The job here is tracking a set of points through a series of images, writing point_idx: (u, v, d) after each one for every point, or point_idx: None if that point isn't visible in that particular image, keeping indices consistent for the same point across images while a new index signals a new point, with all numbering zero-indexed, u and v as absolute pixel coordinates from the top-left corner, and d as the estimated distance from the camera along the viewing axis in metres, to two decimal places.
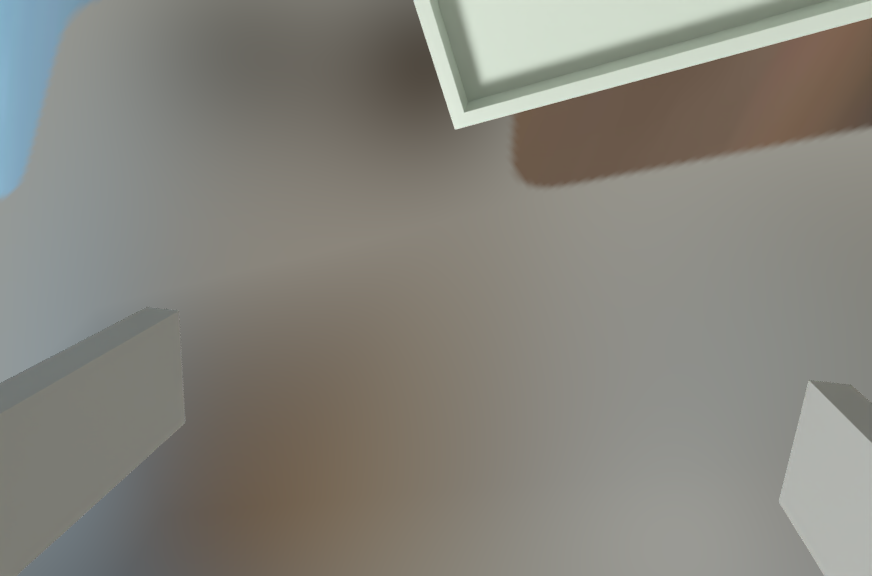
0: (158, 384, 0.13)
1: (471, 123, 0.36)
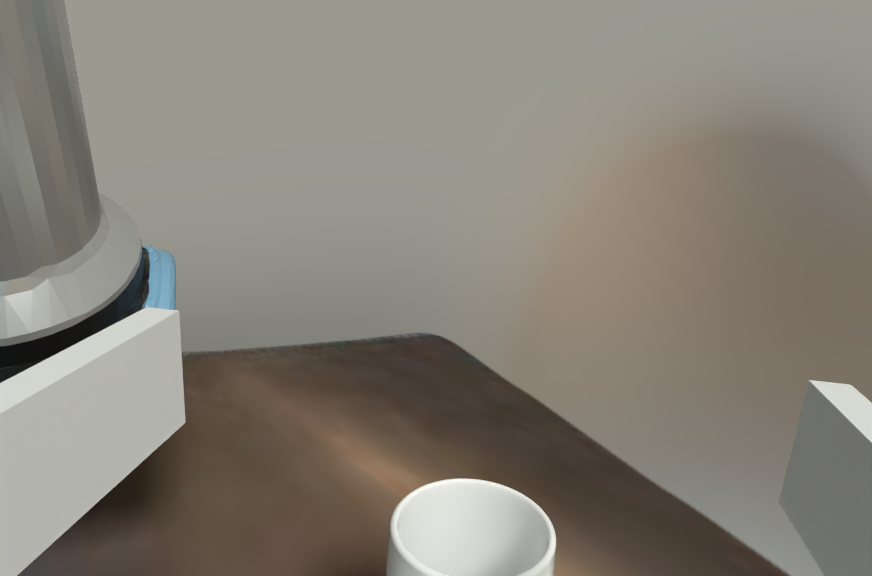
0: (158, 384, 0.13)
1: None
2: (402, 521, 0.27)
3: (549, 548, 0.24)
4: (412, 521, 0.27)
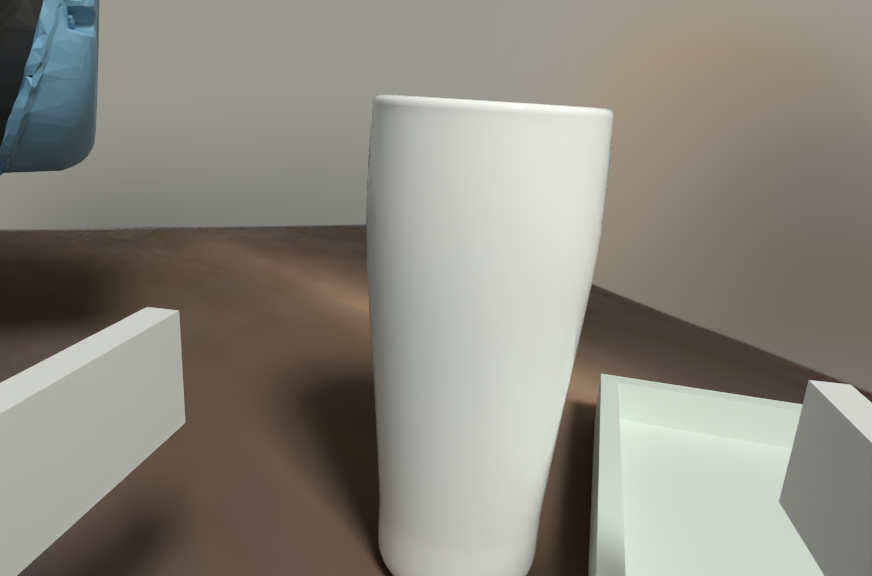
0: (158, 384, 0.13)
1: None
2: None
3: None
4: None
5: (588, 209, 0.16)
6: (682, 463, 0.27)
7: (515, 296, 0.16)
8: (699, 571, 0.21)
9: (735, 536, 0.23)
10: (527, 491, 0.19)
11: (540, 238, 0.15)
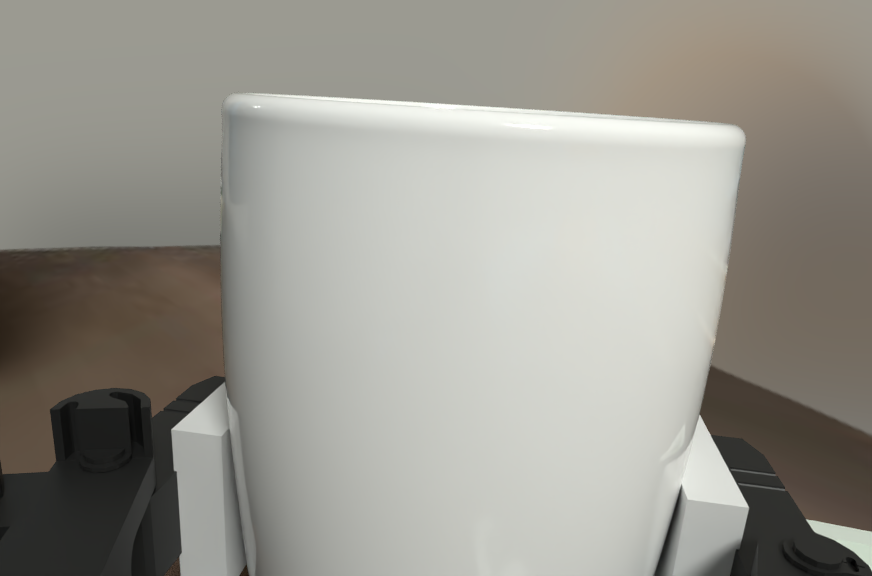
0: None
1: None
2: None
3: None
4: None
5: (696, 355, 0.07)
6: None
7: (529, 566, 0.07)
8: None
9: None
10: None
11: (589, 441, 0.06)
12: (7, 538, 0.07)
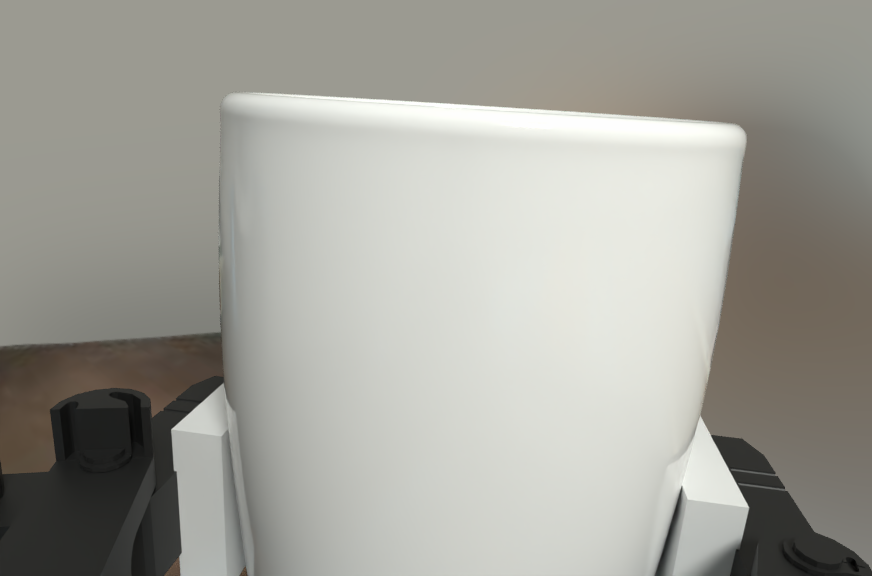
0: None
1: None
2: None
3: (730, 123, 0.07)
4: None
5: (696, 356, 0.07)
6: None
7: (529, 568, 0.07)
8: None
9: None
10: None
11: (590, 442, 0.06)
12: (7, 538, 0.07)
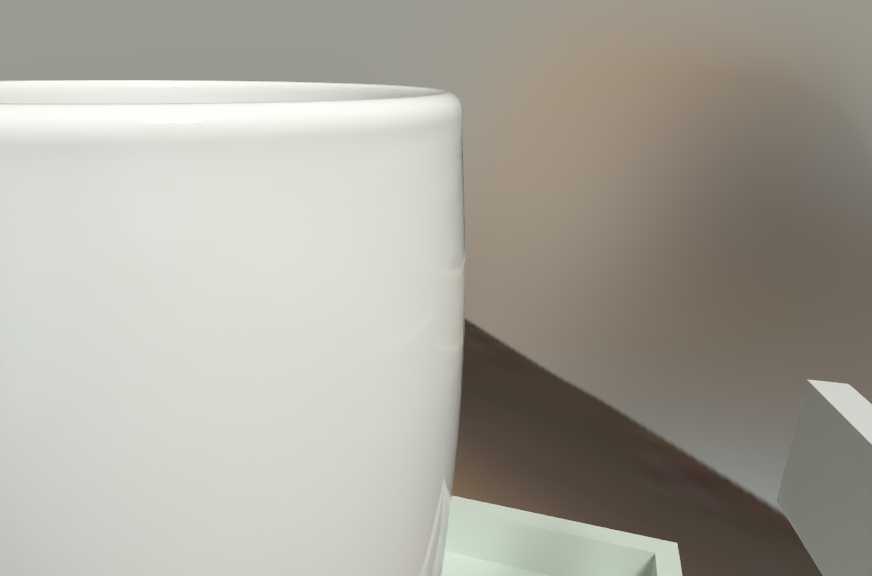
0: None
1: None
2: None
3: (418, 96, 0.06)
4: None
5: (366, 397, 0.06)
6: None
7: None
8: None
9: None
10: None
11: (189, 523, 0.05)
12: None
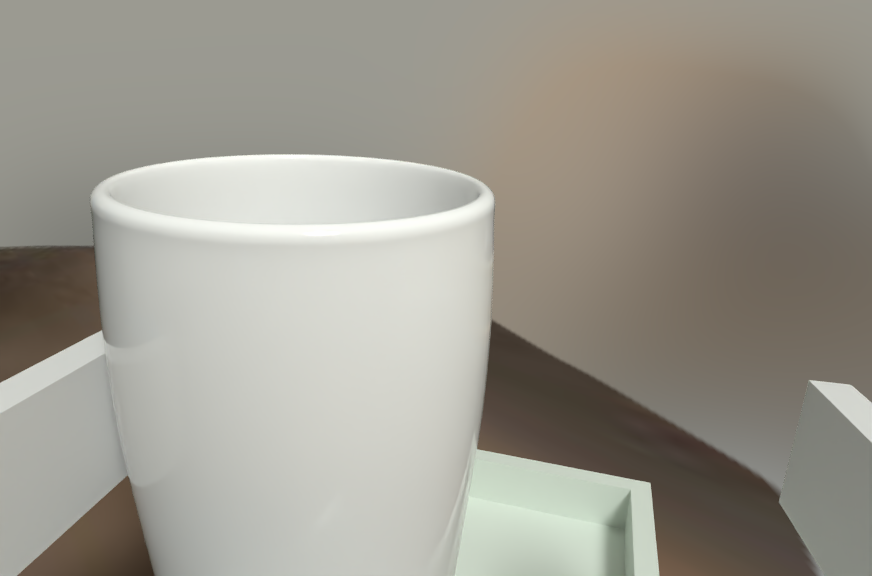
0: None
1: None
2: (176, 205, 0.12)
3: (468, 204, 0.10)
4: None
5: (429, 382, 0.09)
6: None
7: (299, 532, 0.09)
8: None
9: None
10: None
11: (330, 445, 0.09)
12: None
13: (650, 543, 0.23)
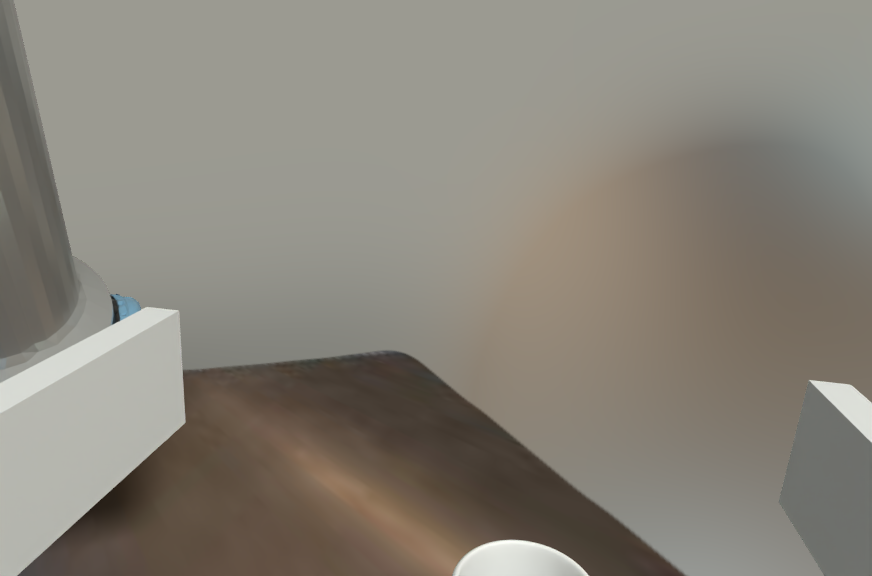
0: (158, 384, 0.13)
1: None
2: None
3: None
4: None
5: None
6: None
7: None
8: None
9: None
10: None
11: None
12: None
13: None
